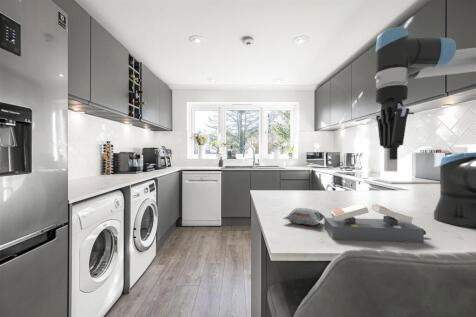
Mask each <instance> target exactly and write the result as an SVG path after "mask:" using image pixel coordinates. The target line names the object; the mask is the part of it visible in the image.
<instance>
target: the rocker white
mask: <svg viewBox="0 0 476 317" xmlns="http://www.w3.org/2000/svg"><path fill="white" fill-rule="evenodd" d="M370 210H372V211H374V212H376V213H379V214H381V215H383V216H390V217H393V218H395V219H398V220H403V221H406V222H409V223H412V224H413V219H414V217H412V216H411V215H409V214H406V213H403V212H400V211H396V210H393V209H390V208H387V207H384V206H382V205H378V204H374V203H372V204H371V207H370Z"/></svg>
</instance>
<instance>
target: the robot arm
mask: <svg viewBox="0 0 476 317" xmlns="http://www.w3.org/2000/svg"><path fill="white" fill-rule="evenodd" d="M409 36H410V33H409V30H408V28H406V27H404V26H395V27H391V28H389V29H385V30H384V31H382V32H381V33H380V34H379V35H378V36H377V38H376V44H375V62H376V63H375V76H374V79H375V88H376V90H375V103H376V104H380V114H377V115H376V116H375V120H376V123H377V129H378V130H377V131H378V140H379V145H380V147H382V148H383V150H384V152H383V153H384V154H383V155H384V160H383V161H384V163H383V164H384V165H383V167H384V168H383V171H384V172H398V149H399V148H400V146H403V145H404V140H405V133H406V126H407V119H408V115H409V112H410V108H408V107H404V103H403V102H405V101H406V100H407V99H408V97H409V94H408V93H409V92H408V91H409V90H408V89H409V88H408V87H409V86H407V85H408V84H409V80H412V79H422V78H427V77H428V78H429V77H430V78H431V77H439V76H445V75H446V76H448V75H455V74H457V75H458V74H464V73H474V72H476V47H470V48H463V49H457V45H456V44H457V43H456V41H455V40H454V39H452V38H450V37H441V36H437V37H434V36H432V37H414V36H413V37H409ZM439 169H440V170H439V172H440V174H439V175H440V176H439V178H440V179H439V180H440V181H439V182H440V183H439V184H440V185H439V186H440V190H439V191H440V196H439V200H438V201H437V204H436V206H435V209H434V211H433V219H434V220H436V221H439V222H441V223H445V224H450V225H452V226H453V225H454V226H460V227H466V228H473V229H474V228H475V229H476V152H464V153H463V152H461V153H460V152H459V153H452V154H447V155H443V156H442V157H441V159H440V166H439Z"/></svg>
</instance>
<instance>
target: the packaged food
mask: <svg viewBox="0 0 476 317" xmlns="http://www.w3.org/2000/svg"><path fill="white" fill-rule="evenodd" d="M324 218H326V216H325V215H323V214H322V213H321V212H320V211H318V210H316V209H311V208H303V207H297V208H293V210H291V211H290V212H289V214H288V215H286V216H284V217H282V219H283V220H287V221H289V222H290V223H291V224H292V223H293V224H299V225H301V226H302V225H304V226H316V225H318V224H319V223H320V221H322V220H323V219H324Z"/></svg>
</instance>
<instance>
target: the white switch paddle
mask: <svg viewBox="0 0 476 317" xmlns="http://www.w3.org/2000/svg"><path fill="white" fill-rule="evenodd" d="M368 213H369V209H368V206H366V205H364V204H363V203H359V204H354V205H351V206H350V205H349V206H347V207H344V208H340V209H337V210H333V211H332V210H331V211H330V215H331V218H334V219H335V220H336V221H339V220H343V219H346V218H350V217H354V218H355V217H357V216H361V215H365V214H368Z"/></svg>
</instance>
